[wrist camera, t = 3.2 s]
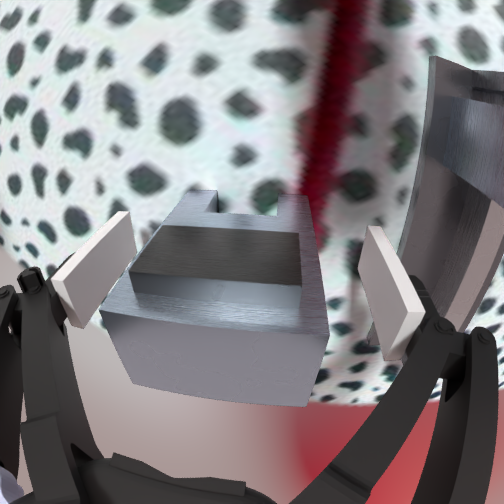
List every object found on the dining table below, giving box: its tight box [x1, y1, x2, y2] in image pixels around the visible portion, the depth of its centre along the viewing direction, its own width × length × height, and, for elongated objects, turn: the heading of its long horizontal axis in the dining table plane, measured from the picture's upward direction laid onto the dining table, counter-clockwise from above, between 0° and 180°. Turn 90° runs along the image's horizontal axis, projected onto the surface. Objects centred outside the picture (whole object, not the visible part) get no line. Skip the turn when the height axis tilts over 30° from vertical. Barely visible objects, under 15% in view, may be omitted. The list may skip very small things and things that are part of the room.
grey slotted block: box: [367, 56, 504, 366], centre depth 11 cm, size 9×20×11 cm, turn 179°
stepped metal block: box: [99, 190, 330, 407], centre depth 13 cm, size 7×5×10 cm
